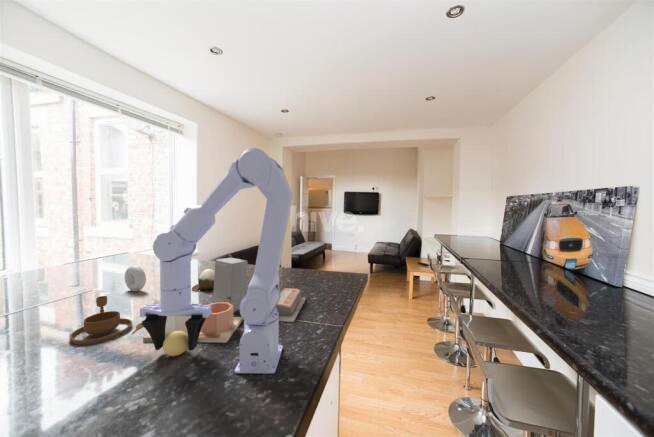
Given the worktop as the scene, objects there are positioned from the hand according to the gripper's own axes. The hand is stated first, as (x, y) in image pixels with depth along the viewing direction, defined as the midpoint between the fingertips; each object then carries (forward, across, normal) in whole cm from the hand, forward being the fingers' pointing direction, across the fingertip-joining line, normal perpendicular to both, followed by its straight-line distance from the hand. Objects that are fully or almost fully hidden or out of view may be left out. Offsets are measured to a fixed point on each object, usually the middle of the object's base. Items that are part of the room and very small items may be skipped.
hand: (176, 347), depth 55 cm
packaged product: (+2, -20, -26) cm, 33 cm away
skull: (+2, +14, -46) cm, 49 cm away
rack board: (+1, +1, -11) cm, 11 cm away
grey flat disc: (+2, +40, -41) cm, 57 cm away
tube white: (+1, +6, -11) cm, 13 cm away
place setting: (+2, +25, -13) cm, 28 cm away
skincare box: (+2, -2, -26) cm, 26 cm away
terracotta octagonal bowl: (+1, -4, -11) cm, 12 cm away
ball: (-1, 0, 0) cm, 1 cm away
